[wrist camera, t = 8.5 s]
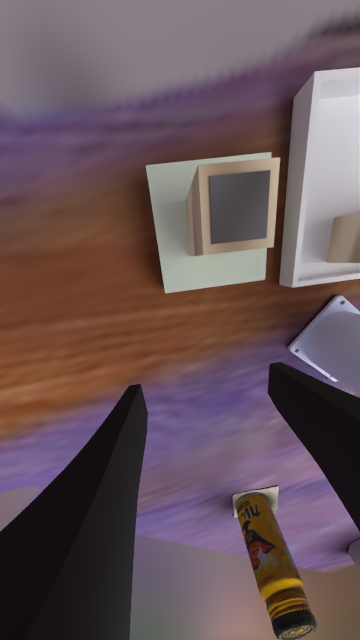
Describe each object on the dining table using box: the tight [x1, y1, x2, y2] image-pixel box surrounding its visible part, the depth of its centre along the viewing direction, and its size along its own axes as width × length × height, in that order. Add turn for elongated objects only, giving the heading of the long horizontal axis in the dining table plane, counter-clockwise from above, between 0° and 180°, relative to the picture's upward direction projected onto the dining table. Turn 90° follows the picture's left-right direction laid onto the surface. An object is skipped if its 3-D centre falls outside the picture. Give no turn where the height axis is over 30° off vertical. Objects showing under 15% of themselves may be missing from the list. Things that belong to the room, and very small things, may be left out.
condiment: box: [233, 486, 317, 640], centre depth 26 cm, size 7×8×12 cm
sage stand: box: [146, 152, 271, 293], centre depth 15 cm, size 9×9×2 cm
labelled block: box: [186, 157, 280, 257], centre depth 11 cm, size 4×4×5 cm
